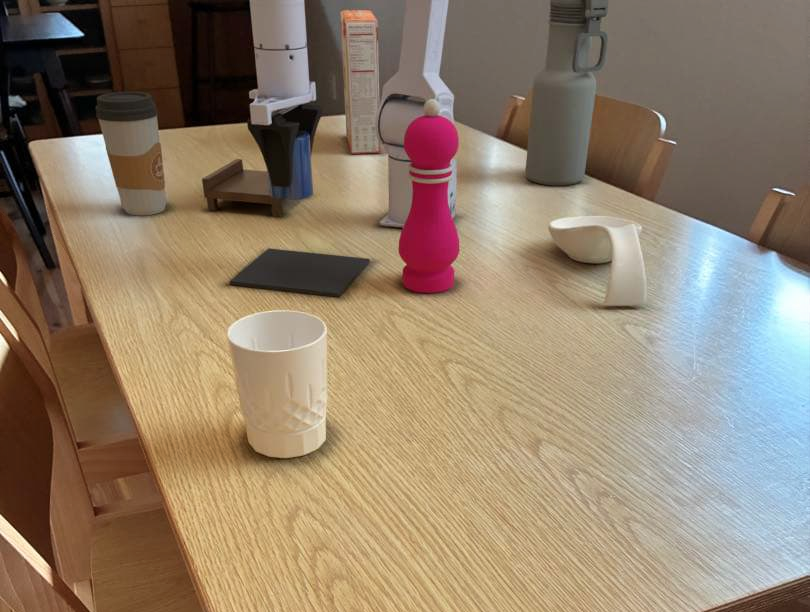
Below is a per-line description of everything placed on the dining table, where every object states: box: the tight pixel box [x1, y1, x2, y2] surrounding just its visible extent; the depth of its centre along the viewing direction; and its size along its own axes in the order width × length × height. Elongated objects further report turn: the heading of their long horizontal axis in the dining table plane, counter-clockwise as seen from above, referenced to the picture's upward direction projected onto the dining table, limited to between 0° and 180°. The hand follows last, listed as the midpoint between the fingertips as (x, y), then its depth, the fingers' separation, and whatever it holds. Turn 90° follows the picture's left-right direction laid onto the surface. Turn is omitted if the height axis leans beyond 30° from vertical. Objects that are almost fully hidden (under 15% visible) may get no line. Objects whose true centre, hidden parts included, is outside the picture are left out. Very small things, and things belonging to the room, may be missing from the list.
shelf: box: [201, 158, 286, 218], centre depth 122 cm, size 12×12×4 cm
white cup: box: [226, 309, 329, 459], centre depth 67 cm, size 8×8×10 cm
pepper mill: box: [398, 99, 460, 294], centre depth 92 cm, size 7×7×20 cm
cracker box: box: [339, 9, 382, 155], centre depth 146 cm, size 14×6×21 cm, turn 6°
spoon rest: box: [547, 215, 647, 307], centre depth 99 cm, size 24×12×7 cm, turn 3°
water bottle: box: [524, 0, 609, 187], centre depth 126 cm, size 10×10×28 cm
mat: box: [229, 248, 371, 298], centre depth 100 cm, size 14×12×1 cm
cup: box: [266, 130, 314, 201], centre depth 95 cm, size 5×5×7 cm
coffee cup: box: [95, 91, 167, 216], centre depth 116 cm, size 8×8×15 cm
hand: (291, 179), depth 96 cm, fingers closed on cup, 5 cm apart
